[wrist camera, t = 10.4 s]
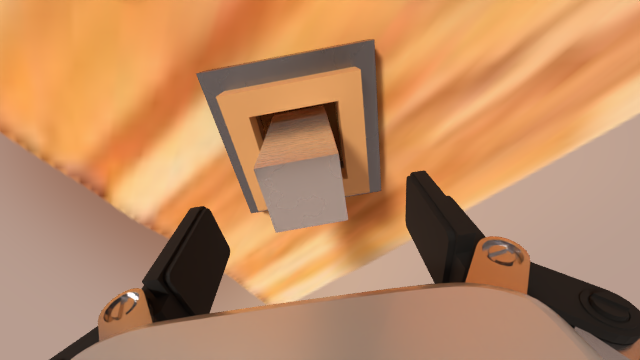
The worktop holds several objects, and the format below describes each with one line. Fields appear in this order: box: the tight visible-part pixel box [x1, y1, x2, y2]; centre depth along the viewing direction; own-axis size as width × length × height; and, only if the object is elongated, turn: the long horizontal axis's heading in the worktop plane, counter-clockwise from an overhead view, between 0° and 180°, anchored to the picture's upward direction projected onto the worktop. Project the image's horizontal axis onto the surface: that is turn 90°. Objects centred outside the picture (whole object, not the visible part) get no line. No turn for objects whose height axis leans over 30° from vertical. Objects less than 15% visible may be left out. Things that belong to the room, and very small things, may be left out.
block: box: [254, 105, 348, 232], centre depth 18 cm, size 4×4×10 cm
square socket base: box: [197, 39, 381, 213], centre depth 21 cm, size 13×13×4 cm
